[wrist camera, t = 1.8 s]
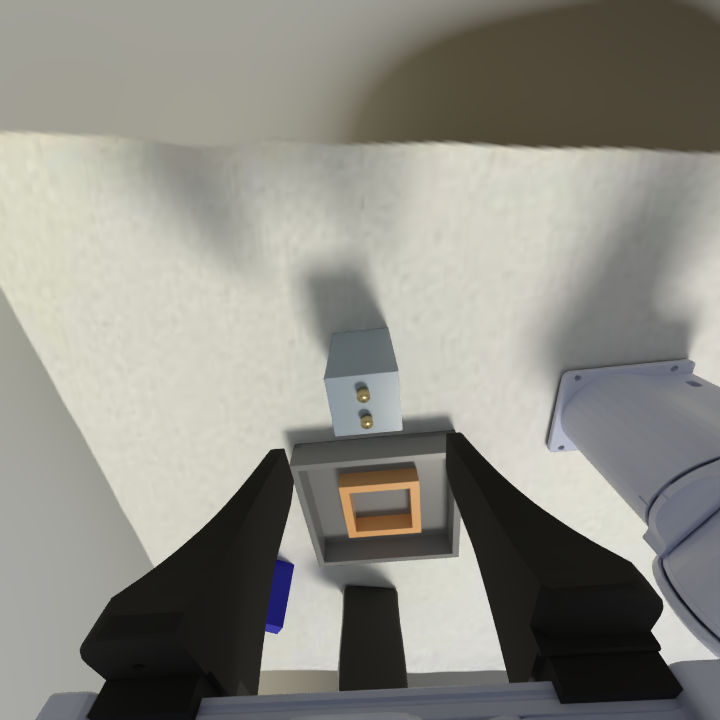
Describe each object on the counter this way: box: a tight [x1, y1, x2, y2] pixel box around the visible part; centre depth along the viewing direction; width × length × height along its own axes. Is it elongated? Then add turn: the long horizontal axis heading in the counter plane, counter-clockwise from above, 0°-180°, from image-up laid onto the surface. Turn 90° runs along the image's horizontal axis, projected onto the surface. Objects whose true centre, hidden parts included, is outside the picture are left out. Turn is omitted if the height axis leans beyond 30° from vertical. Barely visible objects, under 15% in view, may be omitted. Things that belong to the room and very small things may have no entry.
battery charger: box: [337, 587, 408, 692], centre depth 33 cm, size 7×4×11 cm, turn 82°
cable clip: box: [265, 560, 294, 634], centre depth 34 cm, size 12×4×6 cm, turn 151°
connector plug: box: [324, 328, 403, 437], centre depth 20 cm, size 4×4×7 cm
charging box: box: [289, 430, 461, 567], centre depth 28 cm, size 14×14×2 cm
